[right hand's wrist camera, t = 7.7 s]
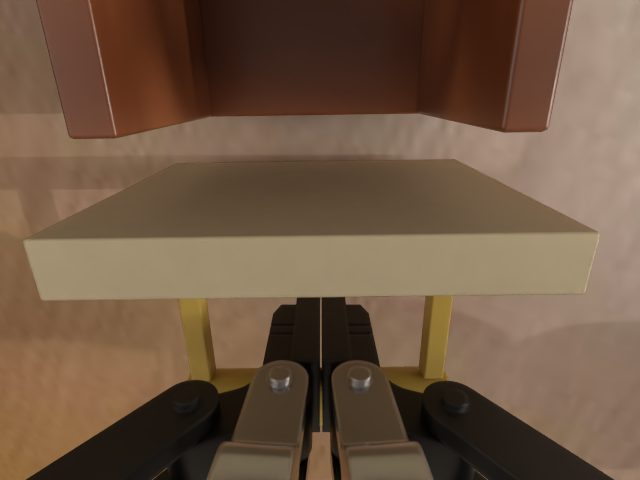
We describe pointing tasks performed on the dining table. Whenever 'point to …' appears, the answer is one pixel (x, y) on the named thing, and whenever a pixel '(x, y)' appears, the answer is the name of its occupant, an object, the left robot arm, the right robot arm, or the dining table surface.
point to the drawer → (308, 176)
